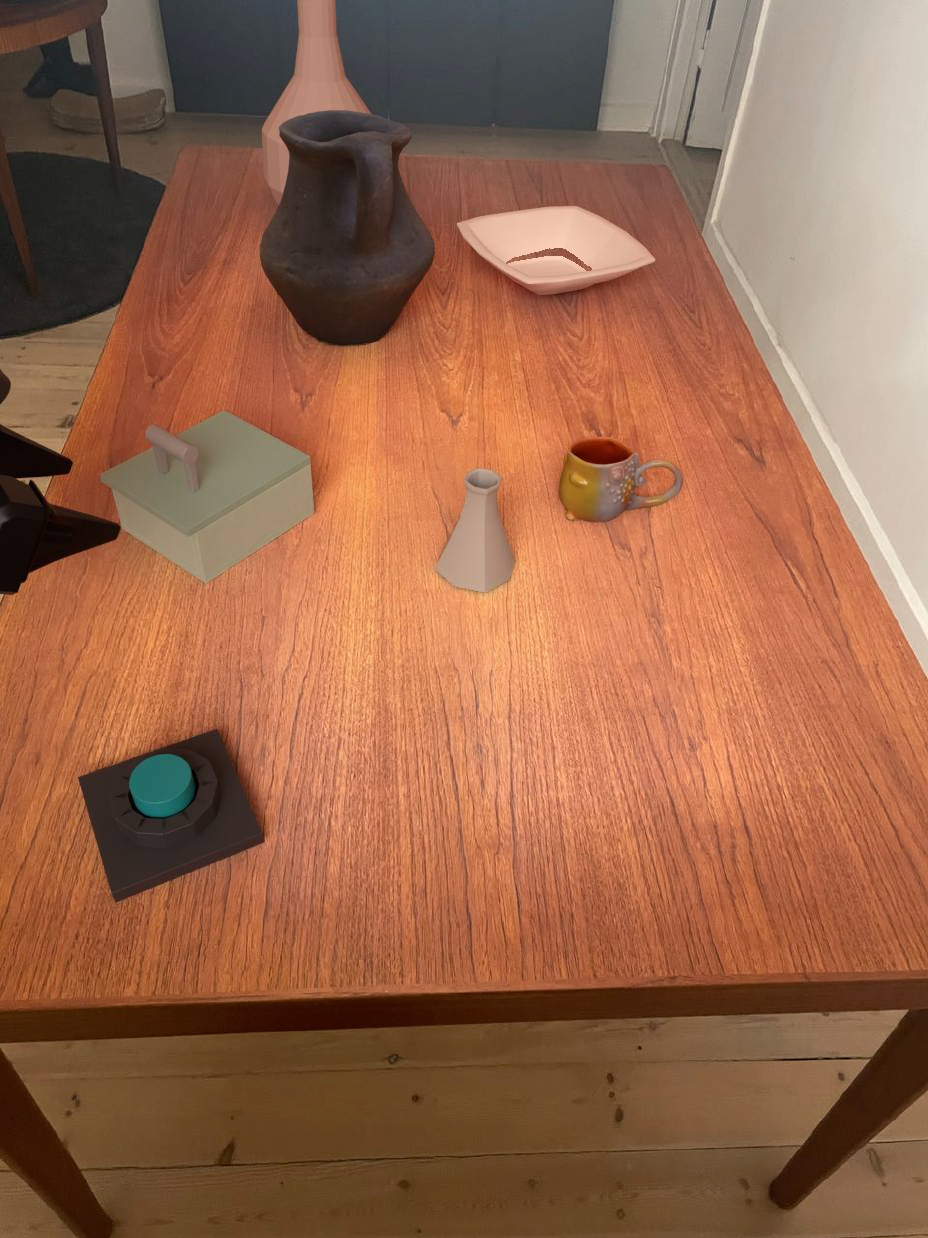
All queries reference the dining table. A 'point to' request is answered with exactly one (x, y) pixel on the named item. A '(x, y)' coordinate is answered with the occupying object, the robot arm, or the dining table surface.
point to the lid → (203, 470)
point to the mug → (607, 480)
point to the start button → (162, 785)
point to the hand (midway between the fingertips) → (93, 498)
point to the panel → (169, 819)
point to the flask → (478, 538)
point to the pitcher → (345, 227)
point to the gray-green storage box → (224, 527)
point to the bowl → (552, 229)
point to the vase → (308, 86)
